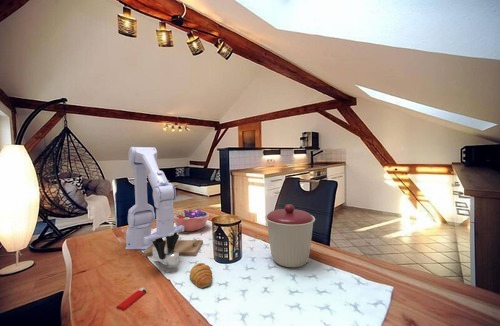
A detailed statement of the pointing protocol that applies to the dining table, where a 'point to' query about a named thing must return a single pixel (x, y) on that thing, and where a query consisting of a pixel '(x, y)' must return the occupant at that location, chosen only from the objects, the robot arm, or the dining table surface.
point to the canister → (290, 235)
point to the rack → (181, 247)
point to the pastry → (201, 275)
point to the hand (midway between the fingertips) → (166, 256)
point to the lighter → (131, 299)
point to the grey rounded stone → (167, 257)
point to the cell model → (191, 219)
